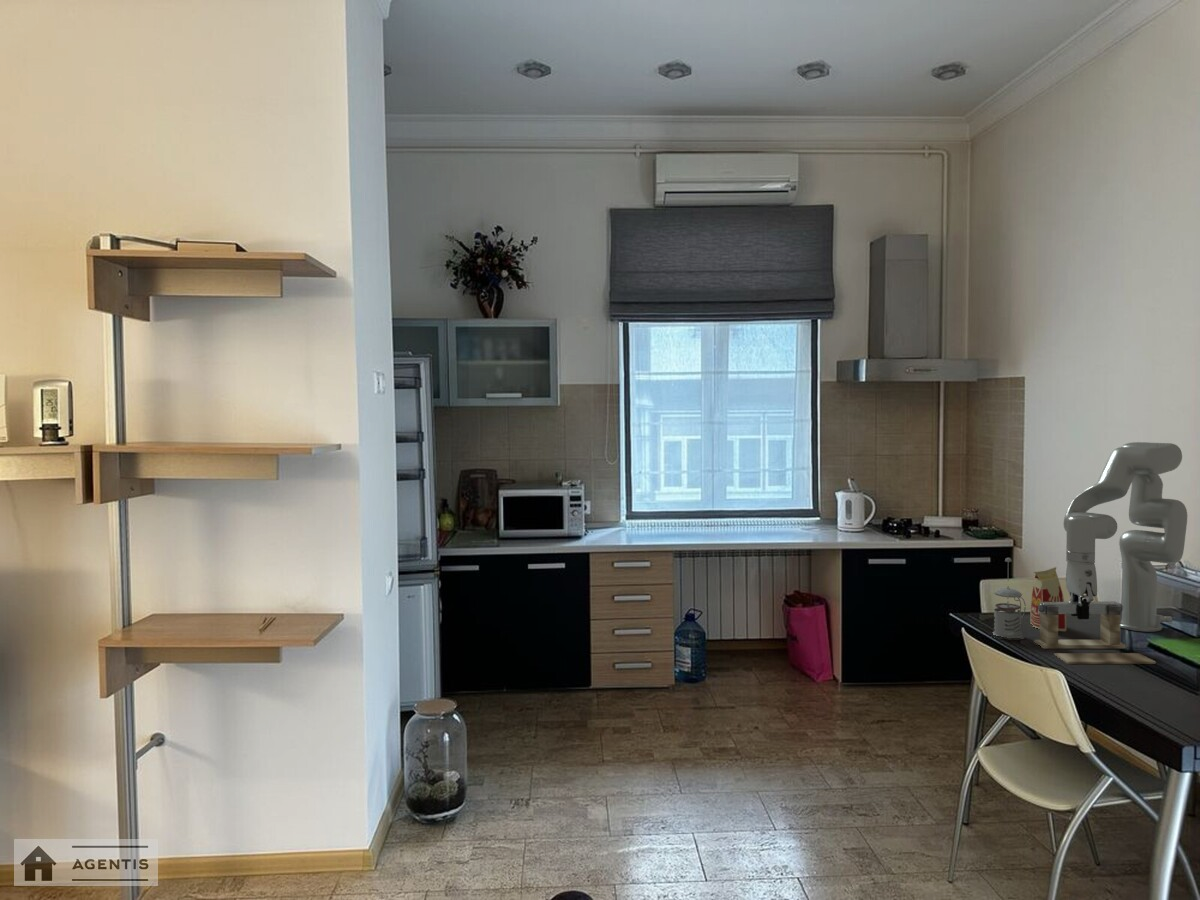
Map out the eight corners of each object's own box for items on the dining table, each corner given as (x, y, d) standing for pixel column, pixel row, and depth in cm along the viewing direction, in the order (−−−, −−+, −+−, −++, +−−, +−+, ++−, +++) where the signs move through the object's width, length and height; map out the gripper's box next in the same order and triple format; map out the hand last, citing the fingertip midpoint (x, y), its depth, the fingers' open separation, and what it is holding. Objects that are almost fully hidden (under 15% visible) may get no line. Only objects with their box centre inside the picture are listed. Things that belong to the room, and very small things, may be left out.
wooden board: (1139, 655, 247) (1139, 653, 247) (1155, 663, 239) (1155, 661, 239) (1054, 655, 248) (1054, 653, 248) (1067, 663, 240) (1067, 661, 240)
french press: (983, 634, 272) (984, 556, 270) (1010, 630, 276) (1010, 553, 275) (1009, 642, 263) (1009, 561, 261) (1036, 637, 267) (1037, 558, 266)
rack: (1114, 642, 260) (1115, 602, 259) (1125, 648, 254) (1126, 606, 253) (1034, 642, 261) (1034, 602, 261) (1043, 648, 255) (1043, 607, 255)
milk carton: (1055, 624, 283) (1056, 564, 282) (1067, 631, 274) (1068, 569, 272) (1026, 623, 284) (1027, 564, 283) (1038, 631, 274) (1038, 569, 273)
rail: (1117, 611, 258) (1117, 601, 258) (1123, 613, 255) (1123, 603, 255) (1037, 611, 259) (1037, 601, 259) (1042, 614, 256) (1042, 604, 256)
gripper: (1108, 562, 248) (1107, 624, 249) (1079, 552, 264) (1079, 610, 265) (1081, 562, 248) (1080, 624, 249) (1054, 552, 265) (1054, 610, 266)
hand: (1079, 616), depth 257 cm, fingers closed on rail, 3 cm apart
